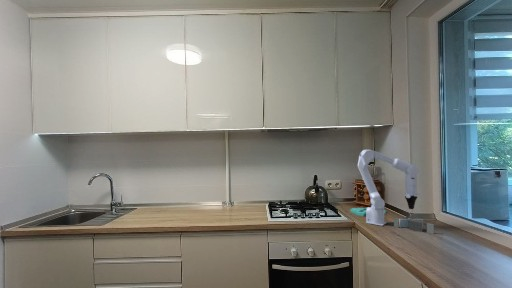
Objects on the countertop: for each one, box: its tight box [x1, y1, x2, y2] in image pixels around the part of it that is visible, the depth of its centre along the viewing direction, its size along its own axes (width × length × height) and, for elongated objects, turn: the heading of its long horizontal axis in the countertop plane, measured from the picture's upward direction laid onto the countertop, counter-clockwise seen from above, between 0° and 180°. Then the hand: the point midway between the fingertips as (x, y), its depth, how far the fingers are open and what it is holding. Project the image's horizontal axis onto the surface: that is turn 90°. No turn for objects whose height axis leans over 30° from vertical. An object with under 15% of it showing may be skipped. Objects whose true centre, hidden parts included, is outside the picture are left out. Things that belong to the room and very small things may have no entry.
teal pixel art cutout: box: [349, 207, 387, 217], centre depth 185 cm, size 20×2×20 cm
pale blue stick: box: [400, 218, 424, 228], centre depth 151 cm, size 12×1×4 cm, turn 88°
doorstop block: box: [408, 218, 424, 233], centre depth 147 cm, size 6×5×5 cm
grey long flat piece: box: [393, 217, 435, 234], centre depth 147 cm, size 19×1×5 cm, turn 48°
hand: (411, 208), depth 156 cm, fingers closed
